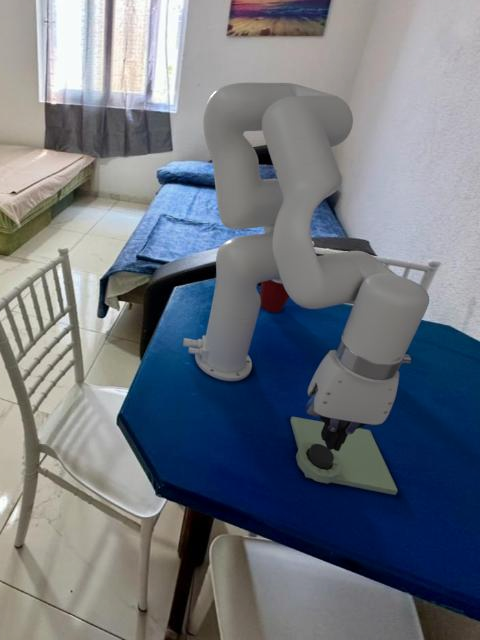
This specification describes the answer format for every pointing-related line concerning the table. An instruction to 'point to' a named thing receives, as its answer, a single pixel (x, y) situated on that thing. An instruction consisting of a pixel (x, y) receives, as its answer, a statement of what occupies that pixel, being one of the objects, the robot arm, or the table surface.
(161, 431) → the table surface
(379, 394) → the robot arm
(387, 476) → the scale
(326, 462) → the button
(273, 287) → the plastic cup
